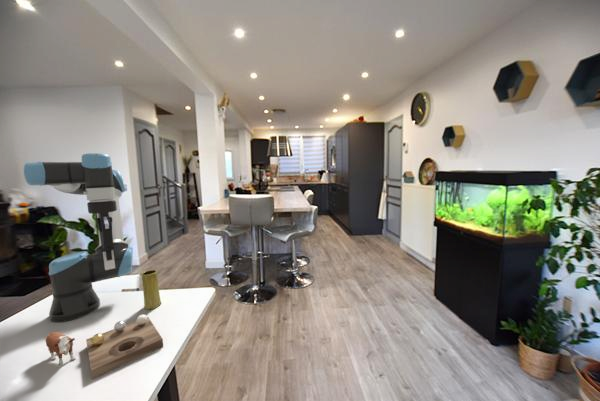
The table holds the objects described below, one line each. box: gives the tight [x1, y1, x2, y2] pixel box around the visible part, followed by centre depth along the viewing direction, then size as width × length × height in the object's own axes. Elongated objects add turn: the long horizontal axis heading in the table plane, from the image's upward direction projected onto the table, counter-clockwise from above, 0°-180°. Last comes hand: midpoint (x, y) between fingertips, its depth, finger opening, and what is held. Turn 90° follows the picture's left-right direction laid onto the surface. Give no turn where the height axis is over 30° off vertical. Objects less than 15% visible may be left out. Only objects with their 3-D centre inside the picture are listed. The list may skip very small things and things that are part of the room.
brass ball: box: [91, 333, 104, 346], centre depth 75 cm, size 3×3×3 cm
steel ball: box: [113, 320, 126, 332], centre depth 81 cm, size 3×3×3 cm
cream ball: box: [135, 314, 148, 325], centre depth 84 cm, size 3×3×3 cm
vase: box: [141, 269, 162, 310], centre depth 101 cm, size 6×6×14 cm
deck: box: [85, 316, 164, 380], centre depth 77 cm, size 18×17×2 cm
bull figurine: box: [45, 331, 76, 366], centre depth 72 cm, size 4×13×8 cm, turn 58°
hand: (110, 268), depth 85 cm, fingers closed
